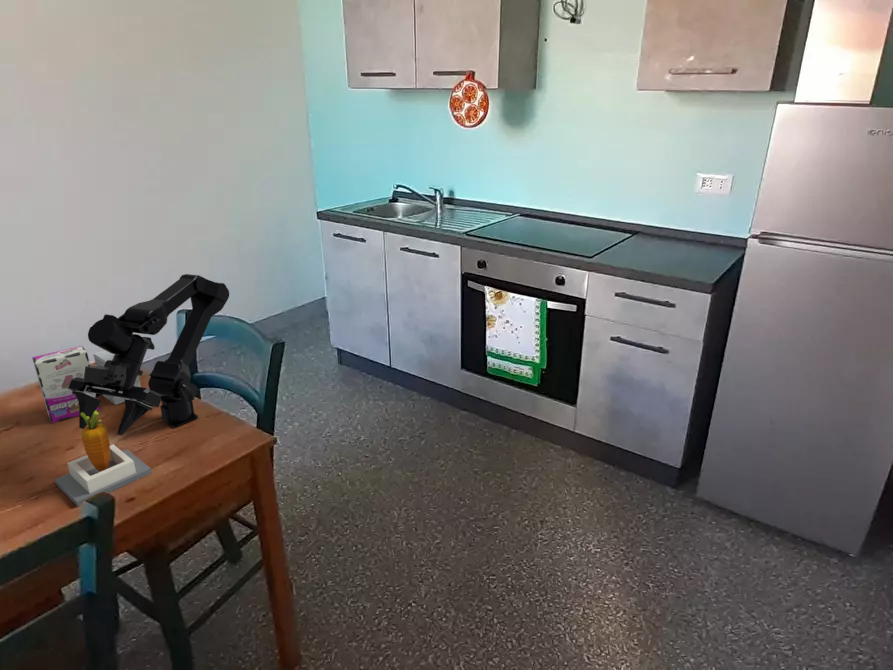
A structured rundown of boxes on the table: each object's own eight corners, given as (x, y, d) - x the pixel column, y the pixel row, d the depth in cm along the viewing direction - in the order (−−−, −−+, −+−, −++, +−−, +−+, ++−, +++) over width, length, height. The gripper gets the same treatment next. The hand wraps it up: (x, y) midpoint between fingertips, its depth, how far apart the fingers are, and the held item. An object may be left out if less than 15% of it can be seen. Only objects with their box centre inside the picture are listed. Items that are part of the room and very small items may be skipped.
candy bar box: (96, 402, 163) (83, 344, 156) (101, 410, 159) (88, 351, 153) (47, 415, 156) (31, 356, 150) (50, 424, 153) (34, 363, 146)
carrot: (86, 473, 133) (71, 412, 127) (110, 463, 137) (96, 403, 131) (97, 483, 130) (81, 420, 124) (121, 472, 134) (107, 411, 128)
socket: (127, 453, 142) (124, 437, 140) (151, 473, 136) (148, 456, 134) (55, 484, 132) (51, 467, 130) (78, 506, 125) (73, 489, 123)
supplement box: (129, 386, 171) (121, 344, 166) (143, 395, 167) (135, 352, 162) (101, 396, 166) (92, 352, 161) (115, 405, 162) (105, 361, 157)
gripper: (64, 342, 131) (33, 415, 125) (142, 353, 127) (113, 429, 121) (99, 360, 141) (72, 428, 136) (173, 371, 137) (148, 441, 132)
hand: (100, 431), depth 131 cm, fingers open, 9 cm apart
